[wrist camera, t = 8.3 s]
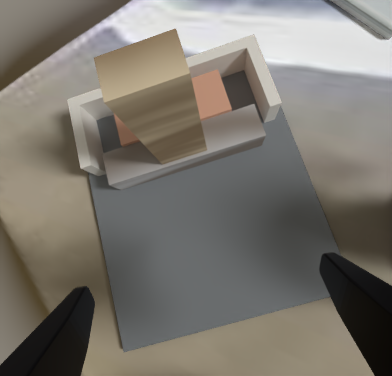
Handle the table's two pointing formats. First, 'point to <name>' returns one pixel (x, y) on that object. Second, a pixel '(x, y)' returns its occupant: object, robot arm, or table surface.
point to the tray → (198, 64)
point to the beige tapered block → (165, 114)
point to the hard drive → (371, 14)
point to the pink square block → (125, 133)
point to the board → (212, 236)
